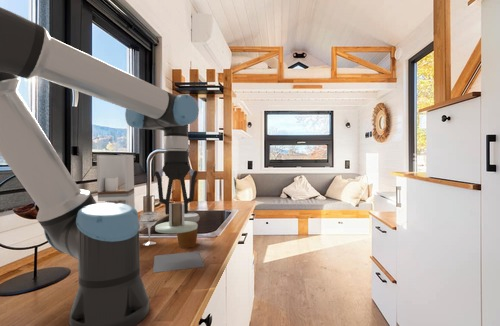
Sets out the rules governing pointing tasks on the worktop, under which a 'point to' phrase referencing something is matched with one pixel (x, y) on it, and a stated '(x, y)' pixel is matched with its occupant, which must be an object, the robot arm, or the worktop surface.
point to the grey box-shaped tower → (116, 179)
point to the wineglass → (148, 222)
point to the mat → (177, 261)
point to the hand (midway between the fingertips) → (176, 224)
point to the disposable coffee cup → (188, 237)
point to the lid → (176, 222)
